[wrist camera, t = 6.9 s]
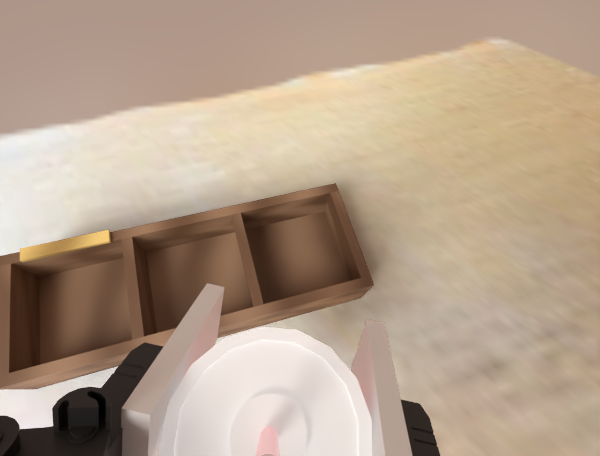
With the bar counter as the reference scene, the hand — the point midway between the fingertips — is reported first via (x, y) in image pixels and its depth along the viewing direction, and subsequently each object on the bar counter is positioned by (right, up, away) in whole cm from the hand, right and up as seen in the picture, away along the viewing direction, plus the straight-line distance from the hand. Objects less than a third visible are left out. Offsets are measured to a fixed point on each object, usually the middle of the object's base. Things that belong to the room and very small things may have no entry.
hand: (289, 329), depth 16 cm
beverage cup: (-1, -5, +3) cm, 6 cm away
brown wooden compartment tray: (-8, -1, +17) cm, 19 cm away
